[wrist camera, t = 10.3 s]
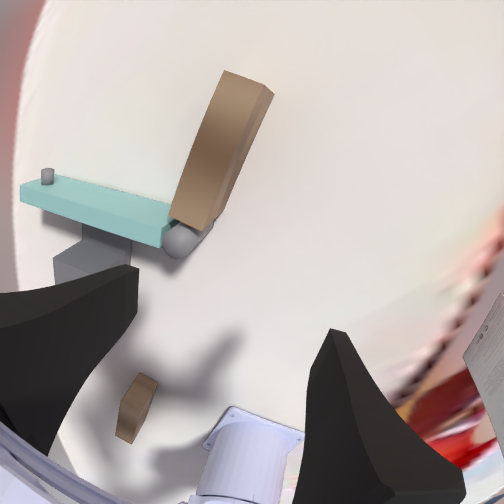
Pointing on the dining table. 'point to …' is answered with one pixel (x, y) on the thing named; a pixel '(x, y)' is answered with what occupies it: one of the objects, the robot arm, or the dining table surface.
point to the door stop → (92, 254)
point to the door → (113, 212)
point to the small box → (490, 366)
